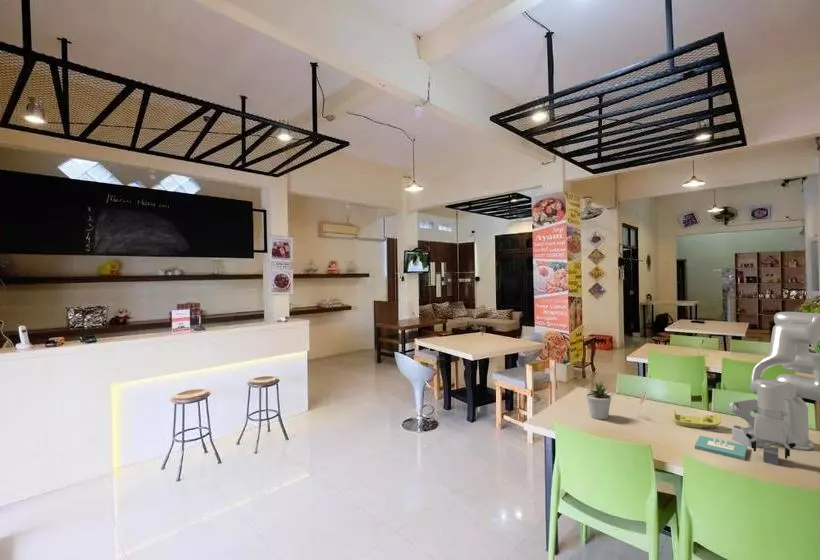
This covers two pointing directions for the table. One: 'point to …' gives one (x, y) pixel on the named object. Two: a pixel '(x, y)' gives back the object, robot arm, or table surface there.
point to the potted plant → (599, 402)
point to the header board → (721, 447)
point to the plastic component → (697, 420)
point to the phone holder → (744, 412)
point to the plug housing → (770, 455)
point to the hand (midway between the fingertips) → (770, 454)
